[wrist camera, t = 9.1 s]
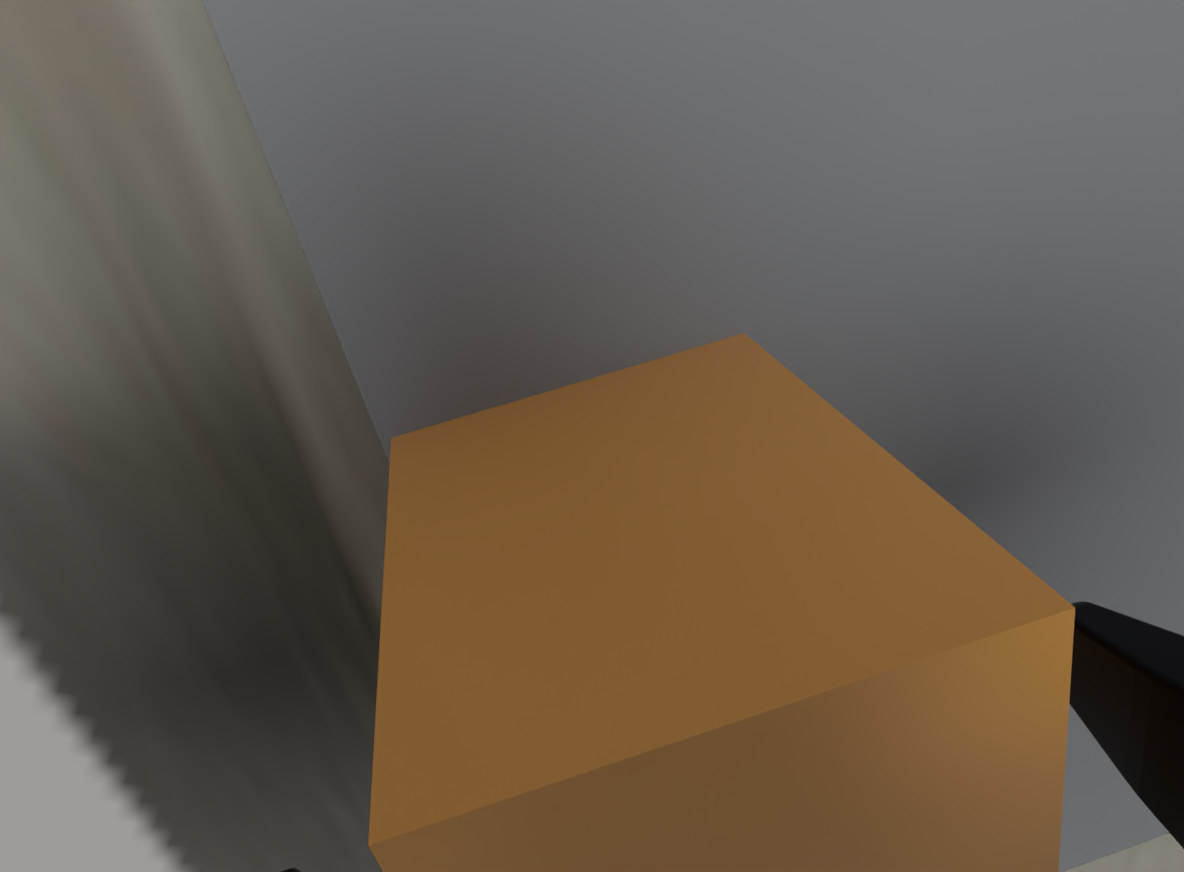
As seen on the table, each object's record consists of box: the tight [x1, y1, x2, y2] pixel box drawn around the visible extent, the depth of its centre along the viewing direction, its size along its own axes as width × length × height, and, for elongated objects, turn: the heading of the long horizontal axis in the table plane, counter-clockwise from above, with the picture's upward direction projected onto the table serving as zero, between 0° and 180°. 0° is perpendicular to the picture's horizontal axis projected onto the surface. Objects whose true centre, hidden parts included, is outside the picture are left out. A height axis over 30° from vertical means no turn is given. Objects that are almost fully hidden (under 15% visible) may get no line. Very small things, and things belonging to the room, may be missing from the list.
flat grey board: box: [202, 0, 1184, 872], centre depth 16 cm, size 24×18×2 cm
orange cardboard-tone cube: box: [368, 333, 1075, 872], centre depth 10 cm, size 6×6×7 cm
